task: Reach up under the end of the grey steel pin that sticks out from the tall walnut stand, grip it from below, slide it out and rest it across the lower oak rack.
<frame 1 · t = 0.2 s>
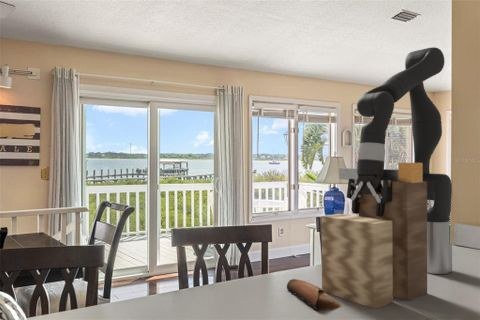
hand: (366, 215, 120), 22 cm above the kitchen counter, tool pointing down, fingers open, 8 cm apart
oak rack: (355, 296, 117), on the kitchen counter
walnut stand: (392, 289, 122), on the kitchen counter
sunglasses case: (313, 300, 116), on the kitchen counter
steel pin: (371, 180, 128), point 32 cm above the kitchen counter, touching walnut stand
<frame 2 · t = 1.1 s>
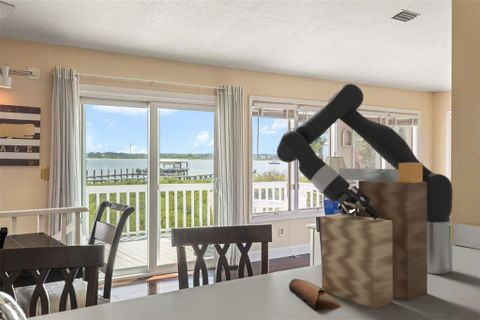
hand: (372, 222, 118), 21 cm above the kitchen counter, tool tilted 50°, fingers open, 8 cm apart
nothing on the kitchen counter moved.
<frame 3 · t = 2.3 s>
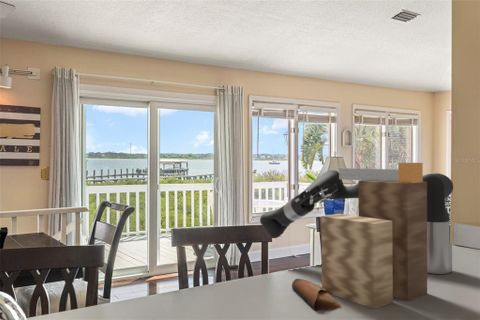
hand: (328, 187, 140), 29 cm above the kitchen counter, tool pointing upward, fingers open, 8 cm apart
nothing on the kitchen counter moved.
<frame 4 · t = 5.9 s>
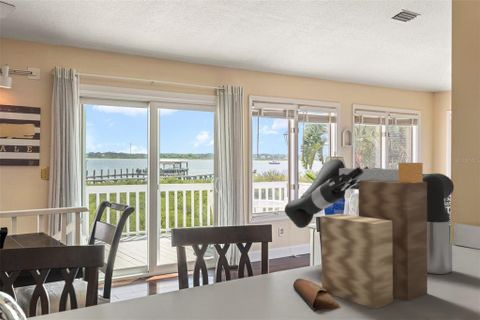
hand: (364, 169, 130), 35 cm above the kitchen counter, tool pointing upward, fingers closed on steel pin, 3 cm apart
steel pin: (371, 180, 128), point 32 cm above the kitchen counter, touching gripper, walnut stand
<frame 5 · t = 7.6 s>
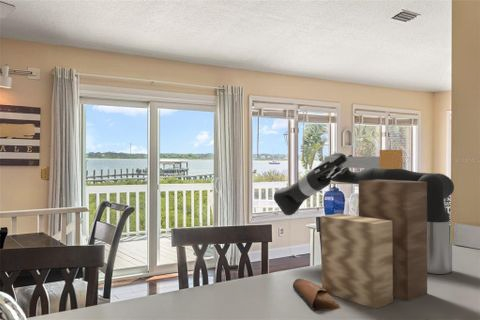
hand: (348, 157, 134), 39 cm above the kitchen counter, tool pointing upward, fingers closed on steel pin, 3 cm apart
steel pin: (354, 167, 132), point 36 cm above the kitchen counter, touching gripper
everything else where it was.
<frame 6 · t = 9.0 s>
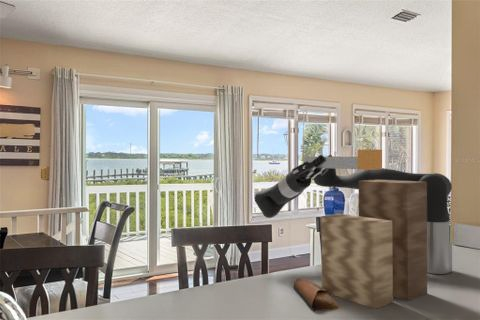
hand: (327, 157, 128), 39 cm above the kitchen counter, tool pointing upward, fingers closed on steel pin, 3 cm apart
steel pin: (333, 168, 126), point 36 cm above the kitchen counter, touching gripper
everything else where it was.
when the fingers open (26 cm above the kitchen counter, at t = 12.1 s): steel pin stays where it is, resting on oak rack.
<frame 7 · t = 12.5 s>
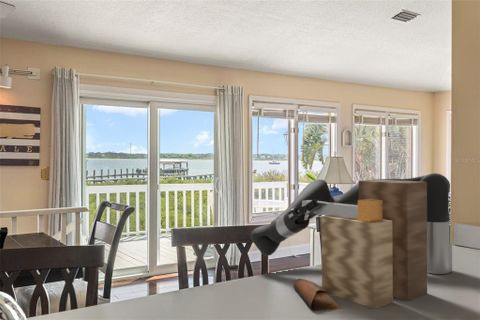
hand: (325, 201, 126), 26 cm above the kitchen counter, tool pointing upward, fingers open, 7 cm apart
steel pin: (332, 215, 123), point 22 cm above the kitchen counter, touching oak rack
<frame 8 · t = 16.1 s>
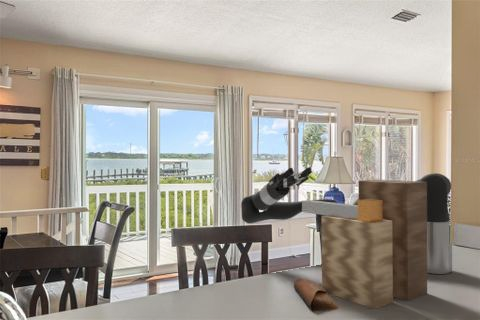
hand: (301, 169, 141), 35 cm above the kitchen counter, tool pointing upward, fingers open, 8 cm apart
nothing on the kitchen counter moved.
at the end: steel pin inside the target area (0.1 cm from its centre), point 22.0 cm above the kitchen counter; steel pin touching oak rack; the gripper is holding nothing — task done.
